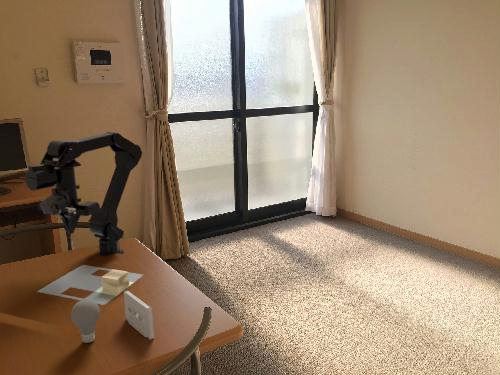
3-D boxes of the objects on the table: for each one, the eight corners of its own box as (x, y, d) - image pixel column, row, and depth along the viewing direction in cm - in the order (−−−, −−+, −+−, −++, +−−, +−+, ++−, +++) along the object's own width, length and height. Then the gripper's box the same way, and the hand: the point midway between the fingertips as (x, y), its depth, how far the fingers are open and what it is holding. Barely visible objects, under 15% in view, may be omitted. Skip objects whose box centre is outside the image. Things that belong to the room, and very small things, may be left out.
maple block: (114, 282, 119) (113, 269, 118) (129, 284, 117) (128, 271, 116) (102, 290, 114) (101, 276, 113) (118, 293, 112) (116, 279, 111)
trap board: (83, 269, 130) (82, 264, 130) (144, 279, 123) (143, 274, 123) (37, 296, 114) (36, 291, 114) (104, 310, 107) (104, 305, 107)
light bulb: (107, 333, 97) (103, 294, 94) (95, 350, 91) (90, 308, 89) (82, 332, 98) (77, 293, 95) (69, 348, 92) (63, 307, 89)
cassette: (156, 338, 95) (154, 307, 94) (149, 341, 94) (146, 310, 92) (131, 317, 104) (128, 289, 102) (124, 320, 103) (121, 291, 101)
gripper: (18, 187, 119) (26, 238, 123) (71, 192, 113) (77, 246, 117) (48, 178, 129) (54, 226, 133) (98, 183, 123) (103, 233, 127)
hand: (71, 233), depth 127 cm, fingers closed
